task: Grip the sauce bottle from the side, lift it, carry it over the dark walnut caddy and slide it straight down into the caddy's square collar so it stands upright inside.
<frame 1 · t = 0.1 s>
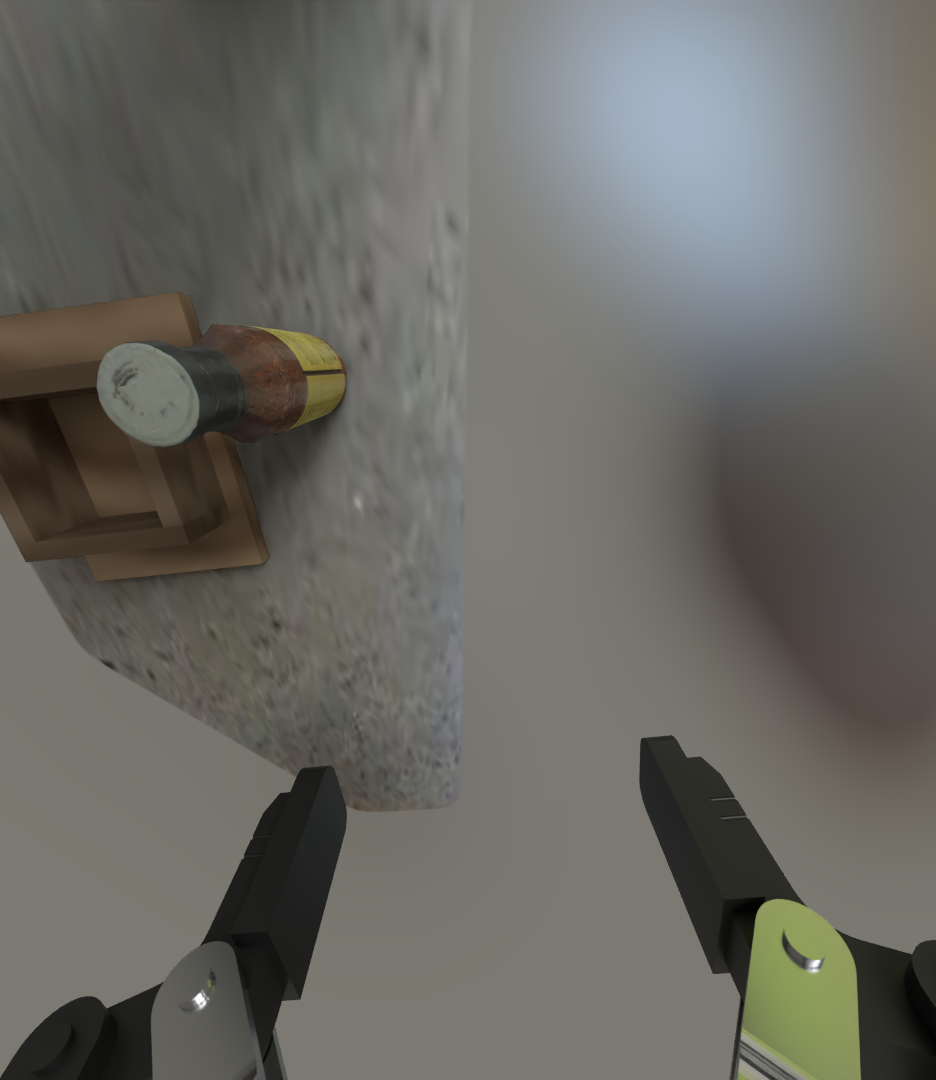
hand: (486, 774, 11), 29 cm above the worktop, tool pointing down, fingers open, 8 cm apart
sauce bottle: (314, 379, 35), on the worktop
walnut caddy: (144, 451, 37), on the worktop
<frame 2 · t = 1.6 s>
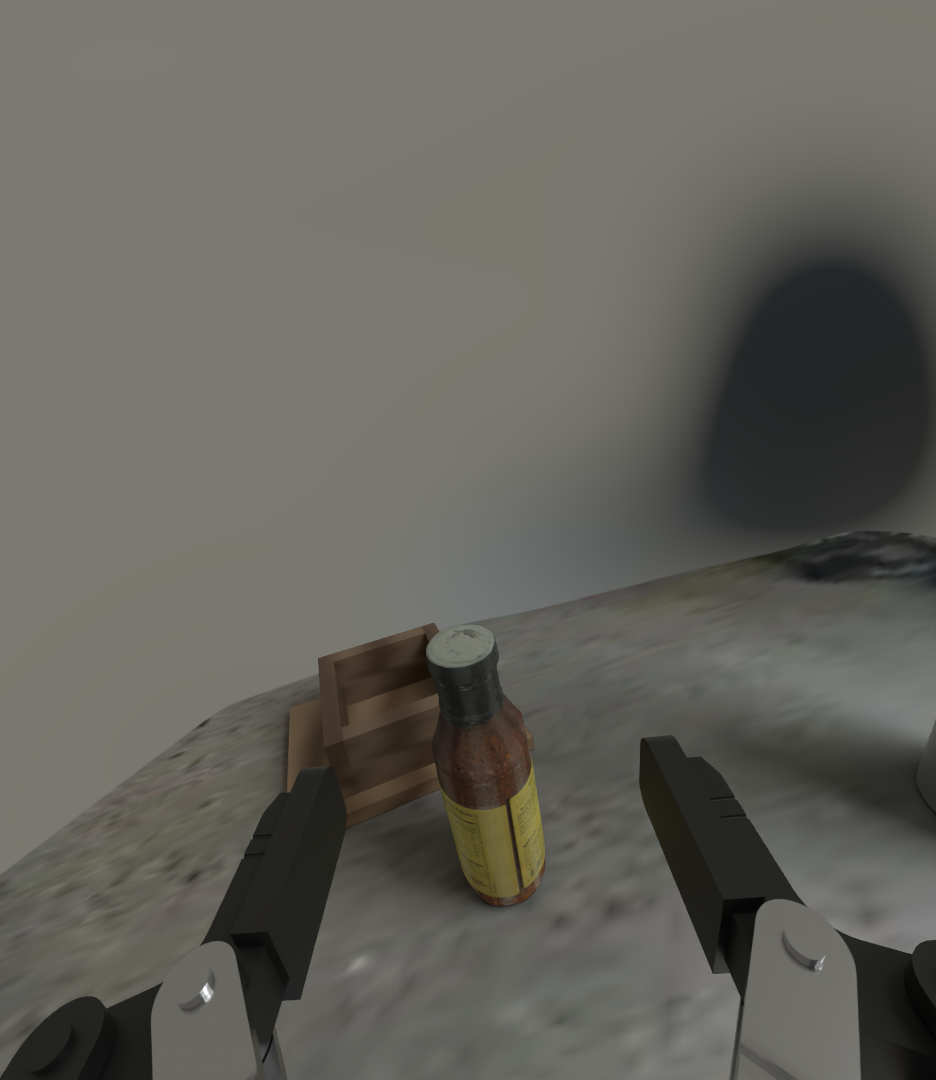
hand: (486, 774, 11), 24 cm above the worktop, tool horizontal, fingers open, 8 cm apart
sauce bottle: (502, 866, 32), on the worktop
walnut caddy: (402, 732, 45), on the worktop
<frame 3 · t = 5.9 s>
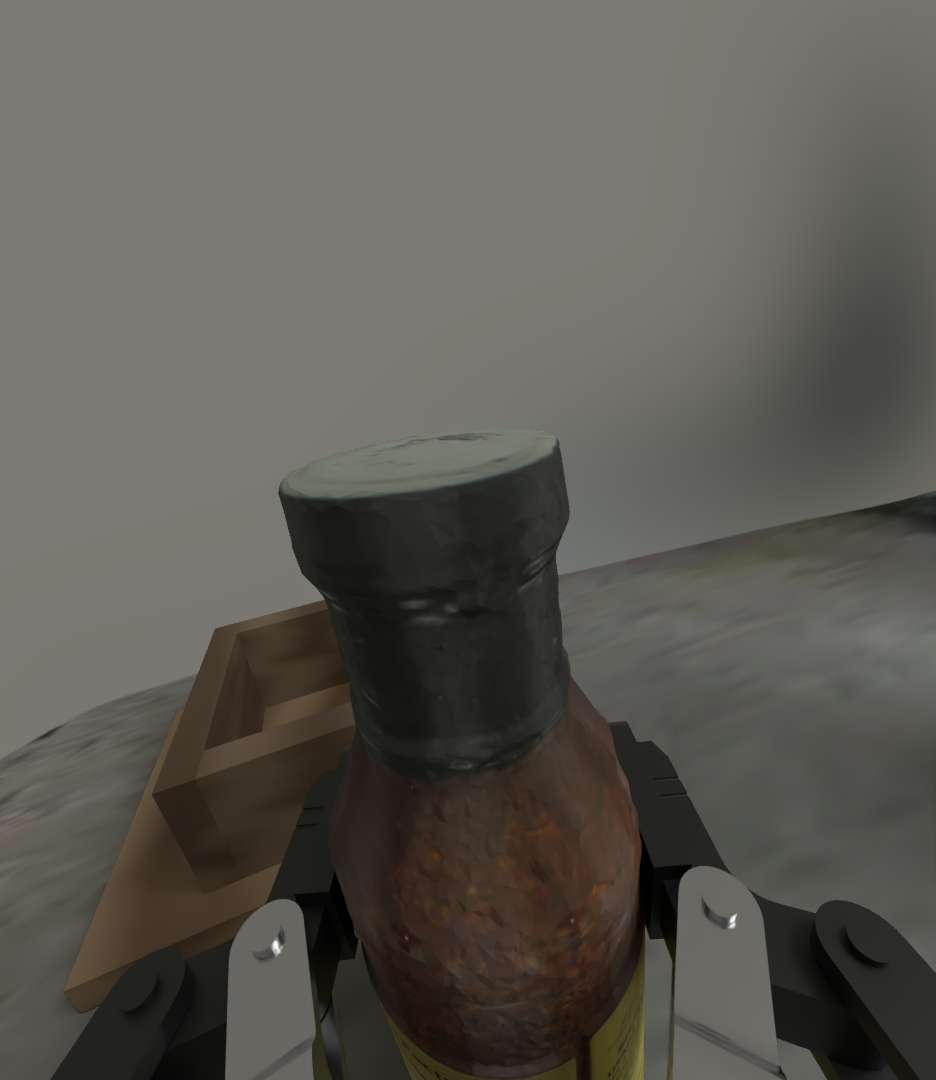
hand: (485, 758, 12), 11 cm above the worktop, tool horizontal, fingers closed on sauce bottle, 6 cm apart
walnut caddy: (351, 752, 27), on the worktop
when the fingers open (14 cm above the worktop, at t = 11.7 s): sauce bottle drops 2 cm, resting on walnut caddy.
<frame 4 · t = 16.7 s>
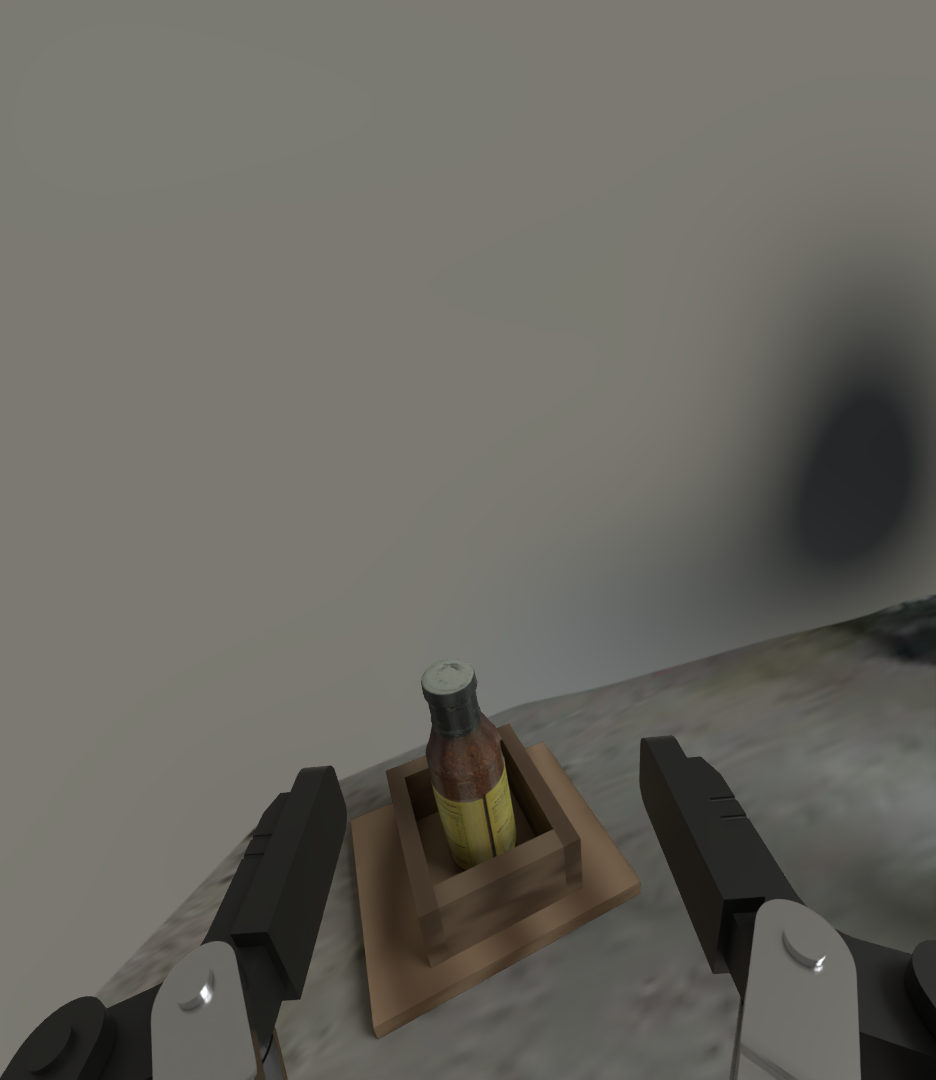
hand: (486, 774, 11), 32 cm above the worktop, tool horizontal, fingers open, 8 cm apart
sauce bottle: (482, 851, 39), point 1 cm above the worktop, touching walnut caddy
walnut caddy: (482, 858, 40), on the worktop
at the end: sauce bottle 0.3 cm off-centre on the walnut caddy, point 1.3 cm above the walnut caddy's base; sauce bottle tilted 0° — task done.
